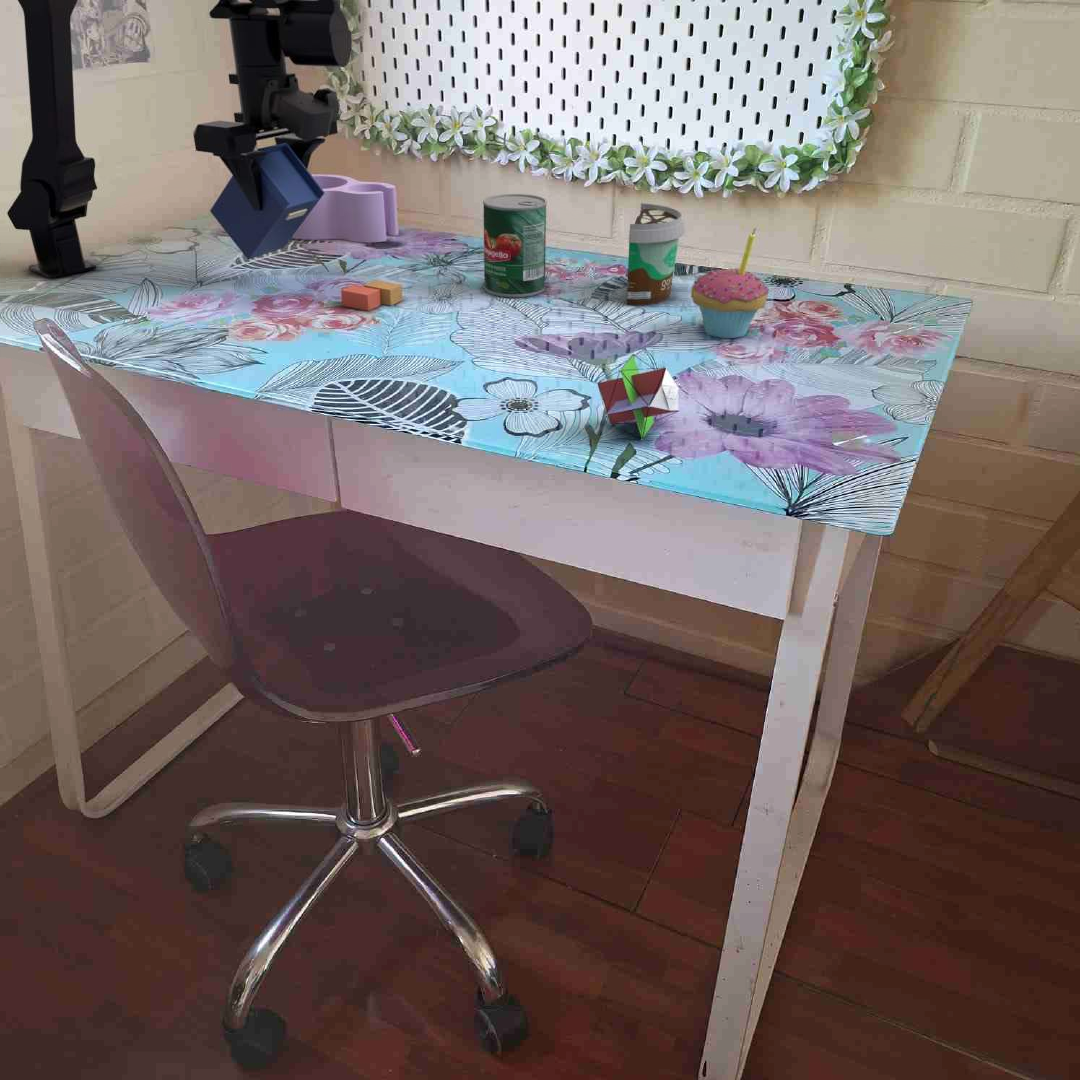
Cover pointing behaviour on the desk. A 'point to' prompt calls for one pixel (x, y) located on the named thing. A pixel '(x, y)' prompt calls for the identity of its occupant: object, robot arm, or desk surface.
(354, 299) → the block
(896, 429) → the desk surface
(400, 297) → the snack bar tan
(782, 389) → the desk surface
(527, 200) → the canned tomato
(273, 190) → the blue storage box
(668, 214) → the food container
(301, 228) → the clip
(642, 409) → the geometric puzzle
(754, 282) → the cupcake
